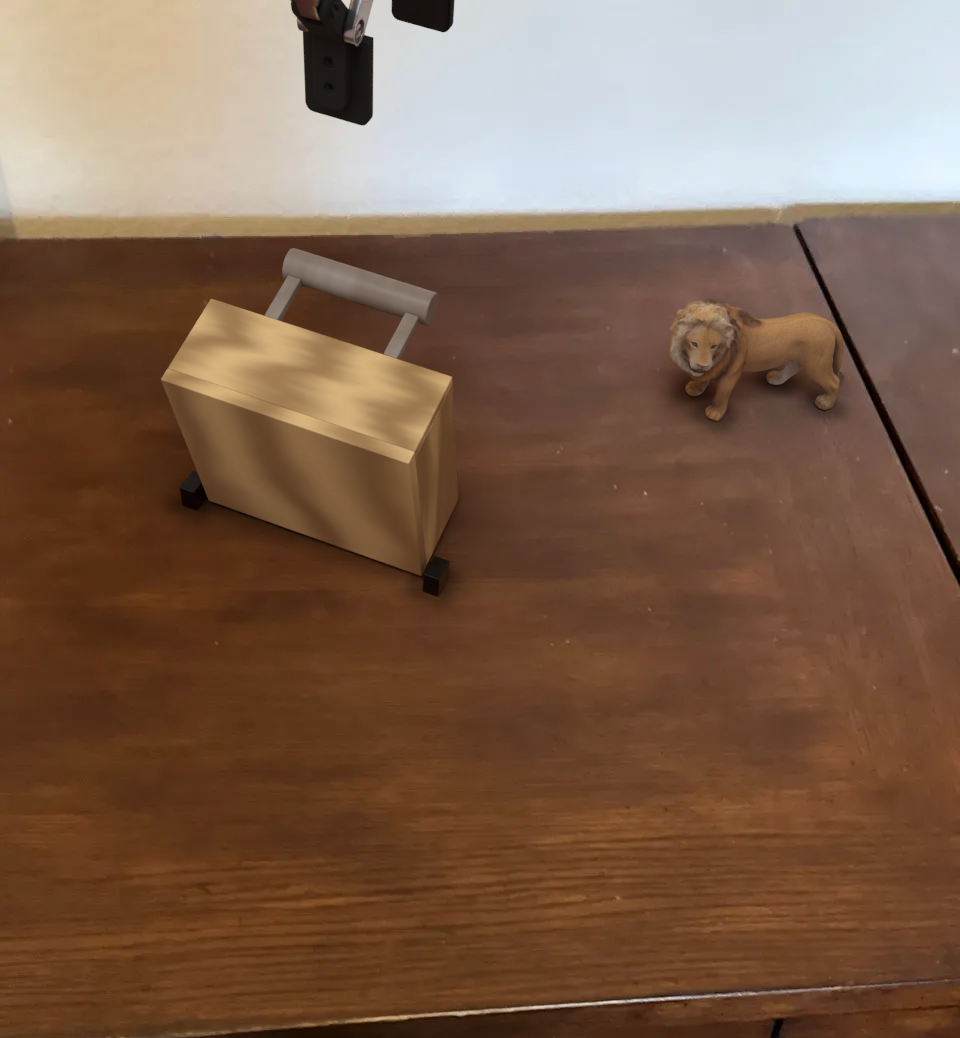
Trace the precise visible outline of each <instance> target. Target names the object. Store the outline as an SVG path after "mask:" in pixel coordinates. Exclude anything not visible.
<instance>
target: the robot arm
mask: <svg viewBox="0 0 960 1038" xmlns="http://www.w3.org/2000/svg"><path fill="white" fill-rule="evenodd" d="M373 3H374V0H350V1H349V6H347V5H346V4H345V3H344V2H343V0H290V8H291V12H292V14H293V15H294V17H296V26H297V29H298V31H301V32H302V46H303V72H304V73H303V75H304V76H303V77H304V102H305V105H306V108H307V109H309V111H310V112H314V113H318V114H320V115H324V116H328V117H331V118H335V119H338V120H341V121H345V122H347V123H351V124H353V125H357V126H363V127H364V126H366V125H367V124H368V123H369V122H370V121H371V120H372V119H373V116H374V36H370V35H366V30H367V26H368V23H369V18H370V14H371V11H372V7H373ZM391 14H392V17H393V18H394V19H395V20H397V21H400V22H404V23H408V24H411V25H415V26H418V27H422V28H425V29H429V30H433V31H437V32H440V33H447V32H448V31H449V30H450V29H451V28H452V26H453V24H454V17H455V15H454V14H455V0H391Z"/></svg>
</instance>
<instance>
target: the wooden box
mask: <svg viewBox="0 0 960 1038" xmlns="http://www.w3.org/2000/svg"><path fill="white" fill-rule="evenodd" d="M281 271H282V273H281V275H282V278H283V280H284V282H283V283H282V285H281V287H280V288H279V289H278V291H277V293H276V294H275V296H274V298H273V300H272V302H271V303H270V305H269V307H268V309H267V310H266V312H265V314H261V313H257V312H254V311H251V310H248V309H245V308H242V307H238V306H235V305H232V304H229V303H228V302H227V303H226V302H223V301H220V300H217V299H214V298H210V300H209V301H208V302H207V304H206V305H205V308H204V309H203V310H202V312H201V314H200V316H199V317H198V318H197V320H196V321H195V324H194V325H193V327H192V328H191V330H190V332H189V333H188V335H187V336H186V338H185V340H184V341H183V343H182V344H181V346H180V347H179V350H178V351H177V353H176V354H175V356H174V357H173V359H172V361H171V363H170V364H169V365H168V367H167V369H166V370H165V372H164V373H163V375H162V377H161V378H160V381H161V384H162V386H163V389H164V391H165V394H166V396H167V399H168V401H169V404H170V407H171V409H172V411H173V414H174V417H175V419H176V422H177V425H178V427H179V429H180V431H181V434H182V437H183V439H184V442H185V444H186V447H187V450H188V452H189V454H190V457H191V459H192V461H193V465H194V468H195V471H196V472H198V475H199V477H200V480H201V482H202V485H203V487H204V490H205V492H206V495H207V497H206V498H207V499H208V502H211V503H215V504H217V505H220V506H223V507H226V508H229V509H230V510H234V511H237V512H240V513H243V514H246V515H248V516H250V517H254V518H256V519H260V520H262V521H265V522H268V523H269V524H270V523H271V524H274V525H277V526H279V527H282V528H284V529H288V530H290V531H293V532H295V533H298V534H302V535H305V536H307V537H310V538H313V539H316V540H319V541H322V542H325V543H327V544H330V545H333V546H335V547H338V548H341V549H344V550H347V551H349V552H353V553H355V554H357V555H361V556H364V557H367V558H369V559H372V560H375V561H378V562H381V563H384V564H386V565H389V566H391V567H394V568H397V569H401V570H403V571H405V572H409V573H412V574H415V575H417V576H420V577H422V576H423V575H424V573H425V571H426V569H427V567H428V565H429V564H428V563H429V562H430V559H431V557H432V555H433V553H434V551H435V550H436V547H437V545H438V542H439V541H440V539H441V536H442V534H443V532H444V530H445V528H446V526H447V524H448V522H449V519H450V518H451V516H452V513H453V512H454V510H455V507H456V505H457V503H458V500H459V488H458V487H459V484H458V464H457V463H458V462H457V445H456V443H457V442H456V423H455V404H454V403H455V402H454V388H453V387H454V386H453V376H451V375H448V374H446V373H441V372H439V371H436V370H433V369H429V368H427V367H423V366H420V365H417V364H415V363H411V362H408V361H404V360H403V359H402V357H403V354H404V353H405V351H406V349H407V348H408V345H409V344H410V341H411V339H412V338H413V336H414V334H415V332H416V330H417V329H418V326H419V324H421V325H424V326H428V327H429V326H430V325H431V324H432V323H433V321H434V319H435V317H436V314H437V311H438V308H439V302H440V301H439V299H440V298H439V297H440V296H439V294H438V292H436V291H433V290H429V289H426V288H423V287H420V286H417V285H414V284H410V283H407V282H404V281H401V280H398V279H394V278H391V277H387V276H385V275H381V274H378V273H376V272H372V271H369V270H366V269H363V268H359V267H357V266H353V265H350V264H346V263H343V262H340V261H337V260H334V259H331V258H328V257H324V256H321V255H318V254H314V253H311V252H309V251H305V250H302V249H298V248H297V247H296V248H295V247H292V248H290V249H289V250H288V251H287V252H286V255H285V256H284V259H283V263H282V269H281ZM302 287H305V288H308V289H311V290H314V291H318V292H320V293H324V294H327V295H330V296H333V297H336V298H340V299H343V300H346V301H349V302H352V303H355V304H358V305H362V306H364V307H367V308H371V309H374V310H377V311H380V312H383V313H387V314H389V315H393V316H396V317H399V318H401V320H400V322H399V324H398V325H397V328H396V329H395V331H394V333H393V335H392V337H391V338H390V340H389V342H388V344H387V346H386V348H385V350H384V352H383V353H380V352H377V351H374V350H372V349H368V348H365V347H362V346H359V345H355V344H353V343H350V342H346V341H343V340H341V339H337V338H334V337H331V336H329V335H328V336H327V335H325V334H322V333H319V332H316V331H313V330H309V329H306V328H303V327H300V326H298V325H295V324H292V323H288V322H285V321H283V320H284V318H285V316H286V314H288V313H287V312H288V311H289V310H290V308H291V306H292V304H293V302H294V301H295V299H296V298H297V296H298V294H299V292H300V291H301V289H302Z"/></svg>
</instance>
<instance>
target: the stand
mask: <svg viewBox="0 0 960 1038" xmlns="http://www.w3.org/2000/svg"><path fill="white" fill-rule="evenodd" d="M179 491H180V492H179V493H180V499H181V505H182V506H183V507H186V508H189V509H191V510H194V511H197V510H198V509H199V508H200V507H201V505H202V504H203V503H204V502H205V500H206V499H207V498H208V497H207V495H206V492H205V490H204V487H203V485H202V482H201V480H200V477H199V475H198V472H197V471H196V470H195V471H194V470H191V472H190V473H189V474H188V476H187V477H186V478H185V479H184V481H183V482H182V483H181V485H180V486H179ZM449 571H450V560H448V559H445V558H442V557H440V556H436V555H433V556H432V558H431V560H430V561H429V564H427V566H426V568H425V570H424V572H423V579H422V592H425V593H426V594H429V595H432V596H435V597H439V596H440V593H441V592H442V590H443V588H444V587H445V585H446V583H447V581H448V579H449Z"/></svg>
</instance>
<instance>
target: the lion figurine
mask: <svg viewBox="0 0 960 1038" xmlns="http://www.w3.org/2000/svg"><path fill="white" fill-rule="evenodd" d="M668 331H669V345H668V353H669V357H670V362H671V364H673V366H675V367H677V368H679V369H680V370H682V371H684V372H686V373H687V374H688V375H689V376H690V377H691V379H692V380H690V381H689V382H688V383H687V384H686V385H685V392H686V393H687V394H688V395H689V396H690V397H691V396H692V397H697V396H700V395H702V394H703V393H704V392H705V390H706V389H707V387H708V385H710V380H711V381H713V382H714V381H716V389H715V390H716V391H715V395H714V397H713V399H712V402H711V404H710V405H708V406H707V407H706V408H705V417H706V418H708V419H709V420H712V421H714V422H718V421H720V420H721V419H722V418H723V417H724V416H725V414H726V412H727V409H728V404H729V398H730V396H731V394H732V391H733V389H734V387H735V386H736V384H737V382H738V381H739V380H740V379H741V376H742V373H754V372H755V373H757V372H758V373H759V372H763V371H767V370H771V371H769V372H768V373H766V376H765V380H766V381H767V382H768V383H769V384H770V385H774V386H779V385H782V384H784V383H786V381H788V380H789V379H791V378H792V377H793V376H794V375H796V374H798V373H800V372H801V371H802V370H803V371H804V373H805V374H806V376H808V378H809V379H810V380H811V381H812V382H813V383H815V384H817V385H818V386H819V387H821V388H823V389H824V391H826V392H825V393H823V394H819V395H817V396H816V398H815V401H814V404H815V406H816V407H817V408H818V409H820V410H824V411H826V410H827V411H828V410H830V409H832V408H833V406H834V405H835V403H836V400H837V397H838V392H839V389H840V383H841V382H842V381H843V380H844V379H845V375H844V374H843V372H842V371H840V370H841V367H842V362H843V356H844V338H843V335H842V332H841V330H840V329H839V328H838V327H837V325H836V324H835V323H833V322H832V321H830V320H829V319H827V318H826V317H824V316H822V315H819V314H816V313H812V312H809V311H802V312H801V311H800V312H796V313H792V314H789V315H785V316H779V317H772V318H771V317H770V318H754V317H752V316H751V314H750V313H749V312H748V311H746V310H745V309H744V308H741V307H737V306H735V305H730V303H726V302H725V301H719V300H718V299H716V300H714V299H711V298H710V299H708V298H707V299H706V300H705V299H698V300H693V301H690V302H688V303H687V304H686V306H685V307H684V308H680V309H678V310H677V311H676V317H675V318H674V319H673V321H672V323H671V325H670V327H669V330H668ZM785 363H787V364H786V365H785V367H784V368H783V369H782V370H773V369H775V368H778V367H780V366H782V365H784V364H785Z"/></svg>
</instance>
